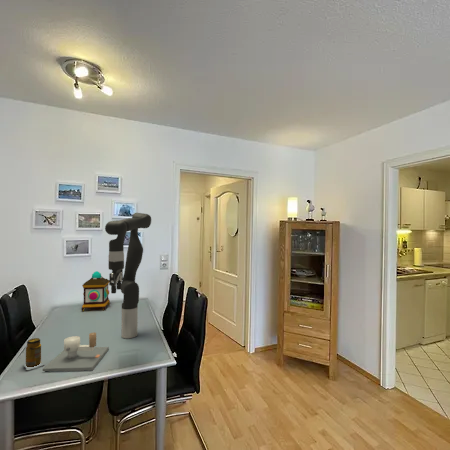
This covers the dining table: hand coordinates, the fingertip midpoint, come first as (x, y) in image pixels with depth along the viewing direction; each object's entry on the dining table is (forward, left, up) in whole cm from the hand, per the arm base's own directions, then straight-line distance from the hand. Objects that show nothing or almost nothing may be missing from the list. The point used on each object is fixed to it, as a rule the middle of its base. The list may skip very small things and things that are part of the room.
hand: (116, 291), depth 145 cm
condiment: (+9, -36, -33) cm, 49 cm away
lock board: (+4, -17, -33) cm, 37 cm away
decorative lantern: (-86, -42, -33) cm, 101 cm away
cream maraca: (+4, -16, -28) cm, 32 cm away
